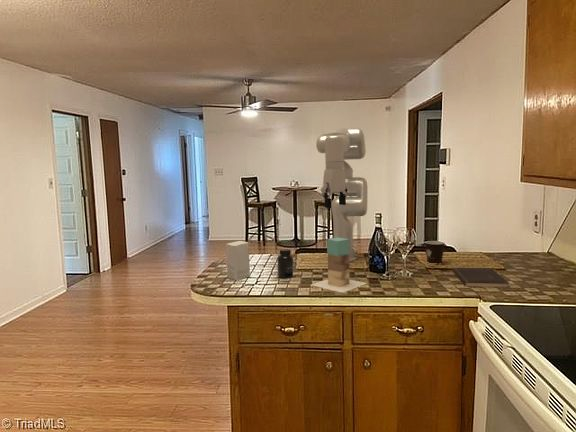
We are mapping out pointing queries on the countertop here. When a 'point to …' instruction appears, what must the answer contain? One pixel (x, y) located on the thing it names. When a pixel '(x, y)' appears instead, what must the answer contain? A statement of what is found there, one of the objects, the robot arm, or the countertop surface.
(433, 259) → the coffee mug
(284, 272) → the supplement bottle
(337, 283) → the oak cube
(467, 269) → the hardcover book
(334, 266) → the walnut cube
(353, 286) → the plate
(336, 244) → the teal cube
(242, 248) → the skincare box
